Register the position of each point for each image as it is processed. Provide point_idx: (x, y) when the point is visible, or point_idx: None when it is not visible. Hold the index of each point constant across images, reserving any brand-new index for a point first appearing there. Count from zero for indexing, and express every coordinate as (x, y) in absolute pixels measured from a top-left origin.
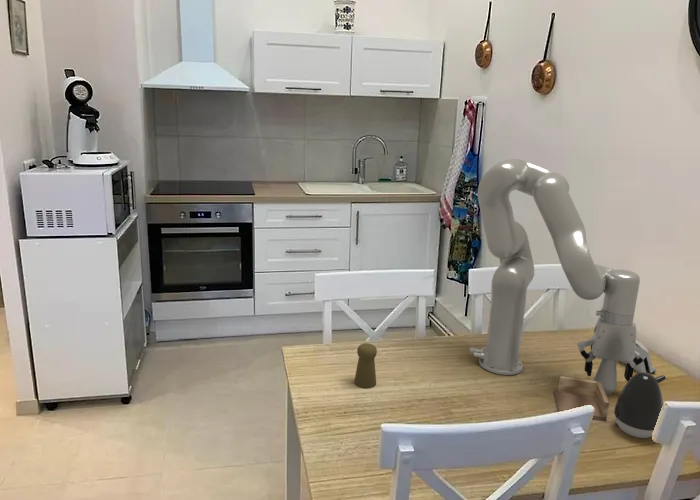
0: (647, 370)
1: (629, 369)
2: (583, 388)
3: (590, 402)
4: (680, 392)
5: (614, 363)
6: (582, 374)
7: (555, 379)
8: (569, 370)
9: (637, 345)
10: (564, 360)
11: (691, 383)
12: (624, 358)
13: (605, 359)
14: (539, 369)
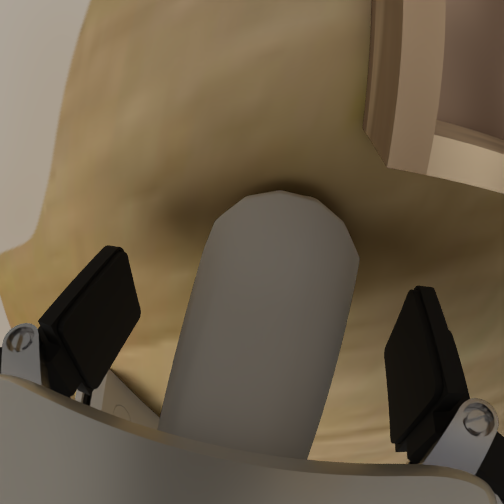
0: None
1: (63, 317)
2: (495, 141)
3: (447, 27)
4: (14, 276)
5: (182, 397)
6: (336, 373)
7: (491, 315)
8: (379, 390)
9: None
10: (359, 433)
11: (12, 322)
12: (19, 427)
13: (288, 453)
14: (497, 372)
